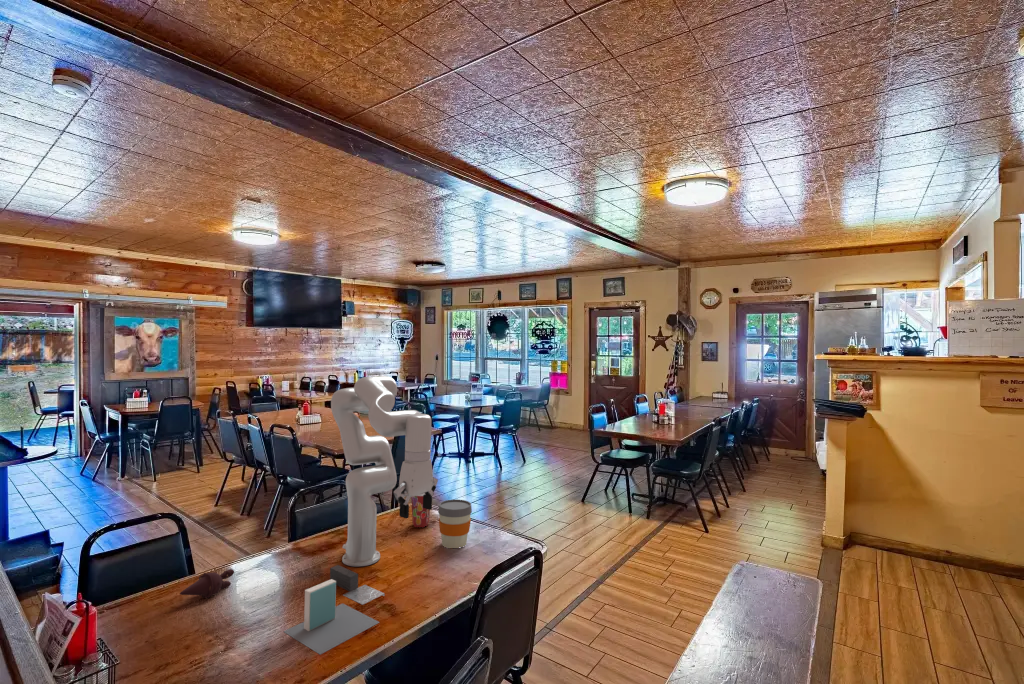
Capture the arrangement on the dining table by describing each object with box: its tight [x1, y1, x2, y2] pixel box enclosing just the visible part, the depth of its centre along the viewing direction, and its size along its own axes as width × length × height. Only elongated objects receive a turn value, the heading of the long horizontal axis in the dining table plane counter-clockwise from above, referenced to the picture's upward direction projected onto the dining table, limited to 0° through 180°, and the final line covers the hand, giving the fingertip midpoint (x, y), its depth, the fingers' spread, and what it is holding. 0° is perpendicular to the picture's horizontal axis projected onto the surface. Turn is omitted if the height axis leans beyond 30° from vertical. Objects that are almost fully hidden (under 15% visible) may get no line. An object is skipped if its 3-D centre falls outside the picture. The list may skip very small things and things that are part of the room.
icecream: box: [179, 568, 235, 599], centre depth 150 cm, size 7×7×15 cm
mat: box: [282, 603, 380, 656], centre depth 135 cm, size 16×18×1 cm
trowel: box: [329, 564, 385, 606], centre depth 155 cm, size 19×8×5 cm, turn 54°
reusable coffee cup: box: [437, 499, 473, 549], centre depth 193 cm, size 13×13×15 cm
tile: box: [303, 578, 337, 631], centre depth 136 cm, size 2×8×10 cm, turn 144°
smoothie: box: [410, 493, 431, 528], centre depth 211 cm, size 8×8×20 cm
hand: (415, 512), depth 153 cm, fingers open, 9 cm apart
